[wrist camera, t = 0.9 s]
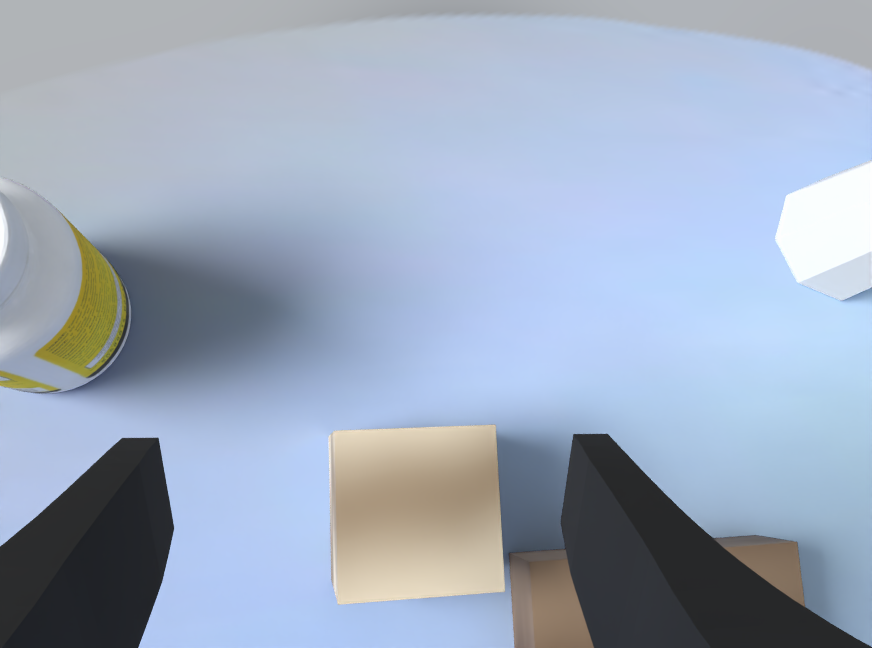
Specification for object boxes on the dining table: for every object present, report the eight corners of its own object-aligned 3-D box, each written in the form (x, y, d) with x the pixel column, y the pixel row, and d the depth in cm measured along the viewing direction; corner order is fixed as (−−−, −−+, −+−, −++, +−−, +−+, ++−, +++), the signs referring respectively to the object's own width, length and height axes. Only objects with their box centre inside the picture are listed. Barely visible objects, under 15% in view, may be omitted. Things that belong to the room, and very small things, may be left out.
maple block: (469, 569, 28) (505, 591, 23) (331, 579, 27) (338, 604, 22) (462, 431, 29) (495, 425, 24) (328, 436, 28) (334, 430, 23)
